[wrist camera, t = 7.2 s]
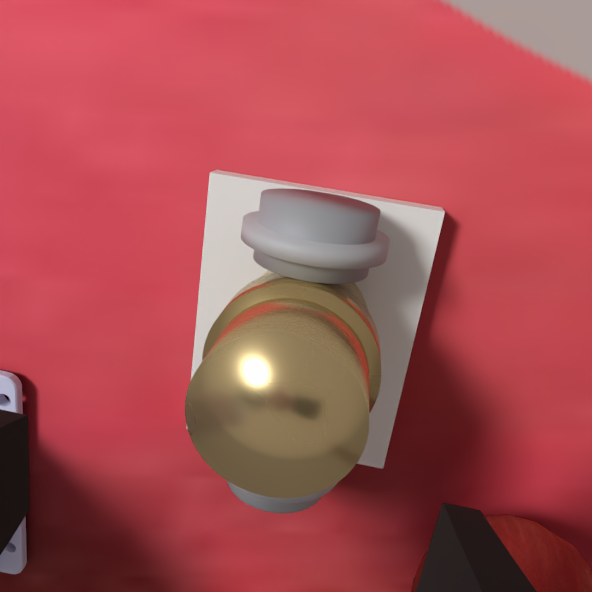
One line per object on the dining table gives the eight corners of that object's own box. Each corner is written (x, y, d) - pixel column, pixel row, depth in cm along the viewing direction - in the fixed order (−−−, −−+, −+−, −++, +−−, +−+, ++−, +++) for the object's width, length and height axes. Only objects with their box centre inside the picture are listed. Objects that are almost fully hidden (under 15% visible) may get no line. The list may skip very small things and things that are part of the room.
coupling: (371, 391, 18) (373, 520, 12) (234, 377, 18) (174, 495, 13) (385, 255, 16) (395, 331, 11) (236, 244, 17) (168, 310, 11)
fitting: (382, 455, 19) (386, 547, 15) (193, 416, 20) (147, 496, 16) (441, 207, 16) (465, 239, 12) (216, 169, 17) (167, 188, 13)
